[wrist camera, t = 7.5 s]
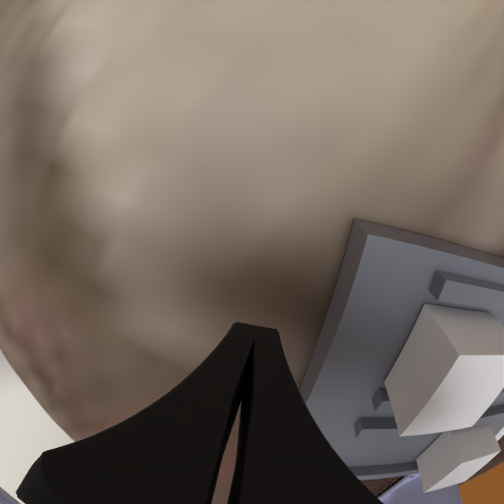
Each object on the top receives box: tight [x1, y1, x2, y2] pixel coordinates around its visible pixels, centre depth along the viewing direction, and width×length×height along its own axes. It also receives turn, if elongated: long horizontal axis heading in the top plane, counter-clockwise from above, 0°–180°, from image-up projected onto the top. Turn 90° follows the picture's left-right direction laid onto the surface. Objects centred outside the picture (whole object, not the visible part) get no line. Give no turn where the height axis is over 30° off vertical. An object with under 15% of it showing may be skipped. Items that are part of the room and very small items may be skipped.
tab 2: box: [416, 423, 501, 493], centre depth 11 cm, size 4×4×3 cm
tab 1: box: [384, 304, 504, 436], centre depth 8 cm, size 4×4×3 cm
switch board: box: [299, 218, 504, 480], centre depth 11 cm, size 16×20×3 cm
